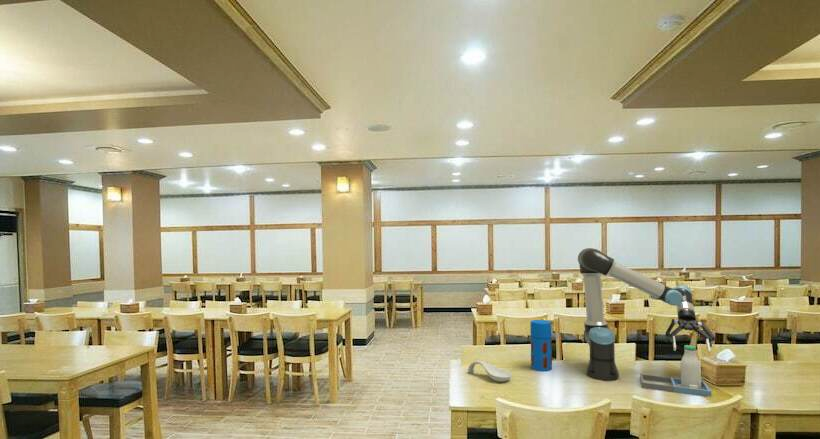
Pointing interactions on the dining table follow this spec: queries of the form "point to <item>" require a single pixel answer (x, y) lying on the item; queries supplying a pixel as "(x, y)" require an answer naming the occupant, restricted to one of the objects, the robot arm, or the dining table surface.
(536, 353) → the thermos
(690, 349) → the milk bottle
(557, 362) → the dining table surface
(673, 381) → the bay frame
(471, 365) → the spoon rest
